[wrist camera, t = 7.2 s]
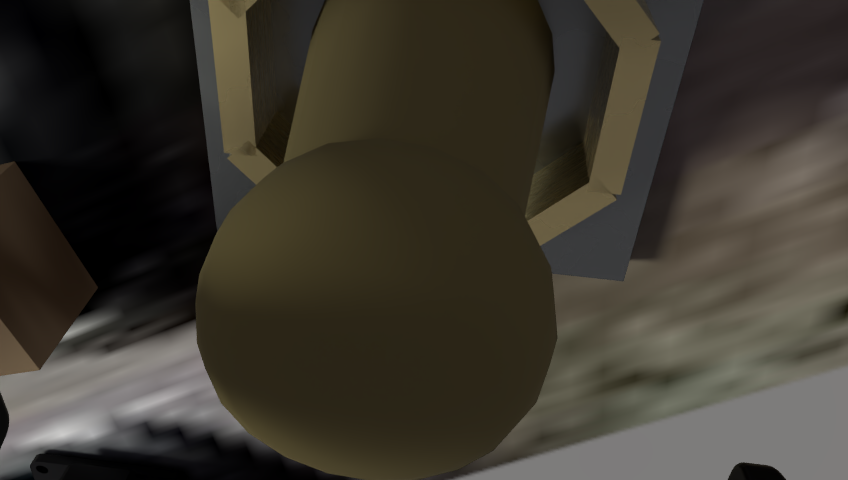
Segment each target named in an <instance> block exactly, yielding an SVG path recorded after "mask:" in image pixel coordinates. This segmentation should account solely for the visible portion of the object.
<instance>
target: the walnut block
mask: <svg viewBox="0 0 848 480" xmlns="http://www.w3.org/2000/svg"><path fill="white" fill-rule="evenodd" d="M97 288H98V287H97V285H96V284H95V282H94V281H93V279H92V278H91V276H90V275H89V273H88V272H87V270H86V269H85V267H84V266H83V264H82V262H81V261H80V259H79V258H78V256H77V255H76V253H75V252H74V250H73V249H72V247H71V246H70V244H69V243H68V241H67V240H66V238H65V237H64V235H63V234H62V232H61V231H60V229H59V228H58V226H57V225H56V223H55V222H54V220H53V219H52V217H51V216H50V214H49V212H48V211H47V209H46V208H45V206H44V205H43V203H42V202H41V200H40V199H39V197H38V196H37V194H36V193H35V191H34V190H33V188H32V187H31V185H30V184H29V182H28V181H27V179H26V178H25V176H24V175H23V173H22V172H21V170H20V169H19V167H18V166H17V164H16V163H15V162H11V163H6V164H2V165H0V376H2V375H9V374H16V373H22V372H29V371H36V370H40V369H41V367H42V366H43V365H44V363H45V362H46V360H47V359H48V357H49V356H50V355H51V353H52V352H53V350H54V349H55V348H56V346H57V345H58V343H59V342H60V341H61V339H62V338H63V336H64V335H65V334H66V332H67V331H68V329H69V328H70V326H71V325H72V324H73V322H74V321H75V319H76V318H77V317H78V315H79V314H80V312H81V311H82V310H83V308H84V307H85V305H86V304H87V303H88V301H89V300H90V298H91V297H92V296H93V294H94V293H95V291H96V290H97Z"/></svg>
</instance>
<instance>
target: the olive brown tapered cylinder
mask: <svg viewBox="0 0 848 480" xmlns="http://www.w3.org/2000/svg"><path fill="white" fill-rule="evenodd" d="M554 73H555V67H554V52H553V37H552V32H551V30H550V27H549V25H548V23H547V20H546V18H545V16H544V13H543V11H542V9H541V6H540V4H539V2H538V0H325V1H324V3H323V6H322V8H321V10H320V13H319V15H318V18H317V20H316V22H315V25H314V27H313V31H312V36H311V40H310V45H309V49H308V54H307V58H306V63H305V67H304V72H303V76H302V81H301V85H300V90H299V94H298V99H297V104H296V108H295V113H294V117H293V122H292V126H291V131H290V135H289V140H288V144H287V149H286V153H285V158H284V162H283V163H282V164H281V165H279V166H278V167H277V168H276V169H274V170H273V171H272V172H270V173H269V174H268V175H266V176H265V177H264V178H263V179H262V180H261V181H260V182H259V183H258V184H257V185H256V186H255V187H254V188H253V189H251V190H250V191H249V192H248V193H247V194H246V195H245V196H244V197H243V198H242V199H241V200H240V201H239V202H238V203H237V204H236V205H235V206H234V207H233V208H232V209H231V210H230V211H229V213H228V215H227V216H226V218H225V220H224V221H223V223H222V225H221V227H220V228H219V230H218V232H217V233H216V236H215V238H214V241H213V243H212V245H211V248H210V250H209V253H208V255H207V257H206V260H205V262H204V265H203V267H202V269H201V272H200V274H199V281H198V288H197V295H196V302H195V303H196V329H197V344H198V347H199V351H200V354H201V357H202V360H203V363H204V366H205V369H206V371H207V373H208V375H209V377H210V380H211V382H212V384H213V386H214V388H215V391H216V393H217V395H218V397H219V399H220V402H221V403H222V404H223V406H224V407H225V408H226V409H227V410H228V411H229V412H230V413H231V414H232V415H233V416H234V418H235V419H236V420H237V421H238V422H239V423H240V424H241V425H242V426H243V427H244V428H245V430H246V431H247V432H248V433H249V434H251V435H252V436H254V437H255V438H257V439H259V440H260V441H262V442H263V443H265V444H266V445H268V446H269V447H271V448H272V449H274V450H275V451H277V452H278V453H280V454H281V455H283V456H284V457H287V458H289V459H292V460H294V461H297V462H299V463H302V464H305V465H307V466H310V467H312V468H315V469H318V470H320V471H323V472H325V473H329V474H335V475H340V476H346V477H352V478H358V479H363V480H419V479H423V478H427V477H431V476H435V475H439V474H443V473H447V472H451V471H455V470H459V469H460V468H462V467H464V466H466V465H468V464H470V463H471V462H473V461H475V460H477V459H479V458H480V457H482V456H484V455H486V454H488V453H490V452H491V451H493V450H494V449H495V448H496V447H497V446H498V445H499V444H500V442H501V441H502V440H503V439H504V438H505V437H506V436H507V435H508V434H509V433H510V432H511V430H512V429H513V428H514V427H515V426H516V425H517V424H518V423H519V422H520V420H521V419H522V418H523V417H524V416H525V415H526V414H527V413H528V411H529V410H530V409H531V408H532V407H533V406H534V405H535V403H536V402H537V399H538V396H539V394H540V391H541V388H542V385H543V382H544V379H545V377H546V374H547V371H548V368H549V365H550V362H551V359H552V355H553V352H554V348H555V345H556V341H557V327H556V315H555V303H554V291H553V281H552V271H551V266H550V264H549V262H548V260H547V258H546V256H545V254H544V252H543V251H542V249H541V247H540V245H539V243H538V241H537V239H536V237H535V235H534V233H533V231H532V229H531V227H530V225H529V223H528V221H527V220H526V218H525V213H526V208H527V203H528V198H529V194H530V189H531V184H532V179H533V174H534V169H535V165H536V160H537V155H538V150H539V145H540V140H541V136H542V131H543V126H544V121H545V116H546V111H547V107H548V102H549V97H550V92H551V87H552V82H553V78H554Z"/></svg>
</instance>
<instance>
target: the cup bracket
mask: <svg viewBox="0 0 848 480" xmlns="http://www.w3.org/2000/svg"><path fill="white" fill-rule="evenodd" d="M324 1H325V0H190V6H191V15H192V23H193V32H194V40H195V48H196V57H197V65H198V74H199V82H200V90H201V99H202V107H203V116H204V124H205V132H206V141H207V149H208V158H209V166H210V174H211V183H212V191H213V200H214V208H215V216H216V225H217V232H218V230H219V228H220V227H221V225H222V223H223V221H224V220H225V218H226V216H227V215H228V213H229V211H230V210H231V209H232V208H233V207H234V206H235V205H236V204H237V203H238V202H239V201H240V200H241V199H242V198H243V197H244V196H245V195H246V194H247V193H248V192H249V191H250V190H251V189H253V188H254V187H255V186H256V185H257V184H258V183H259V182H260V181H261V180H262V179H263V178H264V177H265V176H266V175H268V174H269V173H270V172H272V171H273V170H274V169H276V168H277V167H278V166H279V165H281V164H282V163H283V162H284V158H285V153H286V149H287V144H288V140H289V135H290V131H291V126H292V122H293V117H294V113H295V108H296V104H297V99H298V94H299V90H300V85H301V81H302V76H303V72H304V67H305V63H306V58H307V54H308V49H309V45H310V40H311V36H312V31H313V27H314V25H315V22H316V20H317V18H318V15H319V13H320V10H321V8H322V6H323V3H324ZM703 1H704V0H538V2H539V4H540V6H541V9H542V11H543V13H544V16H545V18H546V20H547V23H548V25H549V27H550V30H551V32H552V37H553V52H554V67H555V73H554V78H553V82H552V87H551V92H550V97H549V102H548V107H547V111H546V116H545V121H544V126H543V131H542V136H541V140H540V145H539V150H538V155H537V160H536V165H535V169H534V174H533V179H532V184H531V189H530V194H529V198H528V203H527V208H526V213H525V218H526V220H527V221H528V223H529V225H530V227H531V229H532V231H533V233H534V235H535V237H536V239H537V241H538V243H539V245H540V247H541V249H542V251H543V252H544V254H545V256H546V258H547V260H548V262H549V264H550V266H551V271H552V273H553V274H562V275H571V276H580V277H589V278H598V279H607V280H617V281H624V278H625V274H626V271H627V267H628V264H629V260H630V257H631V253H632V250H633V246H634V243H635V239H636V236H637V232H638V229H639V225H640V222H641V218H642V215H643V211H644V208H645V204H646V201H647V197H648V194H649V190H650V187H651V183H652V180H653V176H654V173H655V169H656V166H657V162H658V159H659V155H660V152H661V148H662V145H663V141H664V138H665V134H666V131H667V127H668V124H669V120H670V117H671V113H672V110H673V106H674V103H675V99H676V96H677V92H678V89H679V85H680V82H681V78H682V75H683V71H684V68H685V64H686V61H687V57H688V54H689V50H690V47H691V43H692V40H693V36H694V32H695V29H696V25H697V22H698V18H699V15H700V11H701V8H702V4H703Z"/></svg>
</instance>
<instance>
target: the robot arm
mask: <svg viewBox="0 0 848 480" xmlns="http://www.w3.org/2000/svg"><path fill="white" fill-rule="evenodd" d="M8 427H9V414H8V411H7V408H6V406H5V403H4V400H3V398H2V395H1V393H0V448H1V446H2V444H3V441H4V439H5V437H6V434H7V431H8ZM30 468H31V471H32V474H33V476H34V479H35V480H189V477H188V476H187V475H186V474H185V473H183V472H181V471H178V470H172V469H164V468H156V467H148V466H140V465H131V464H123V463H115V462H107V461H99V460H91V459H83V458H75V457H66V456H58V455H50V454H38V455H36V457H35V458H34V460H33V461H32V463H31V465H30ZM728 480H786V479H785V478H784V477H783V475H782V474H781V473H780V472H779V471H778V470H776V469H775V468H773V467H771V466H768V465H760V464H752V463H739V464H737V465H736V466H735V467H734V468H733V470H732V472H731V474H730V476H729V478H728Z"/></svg>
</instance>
